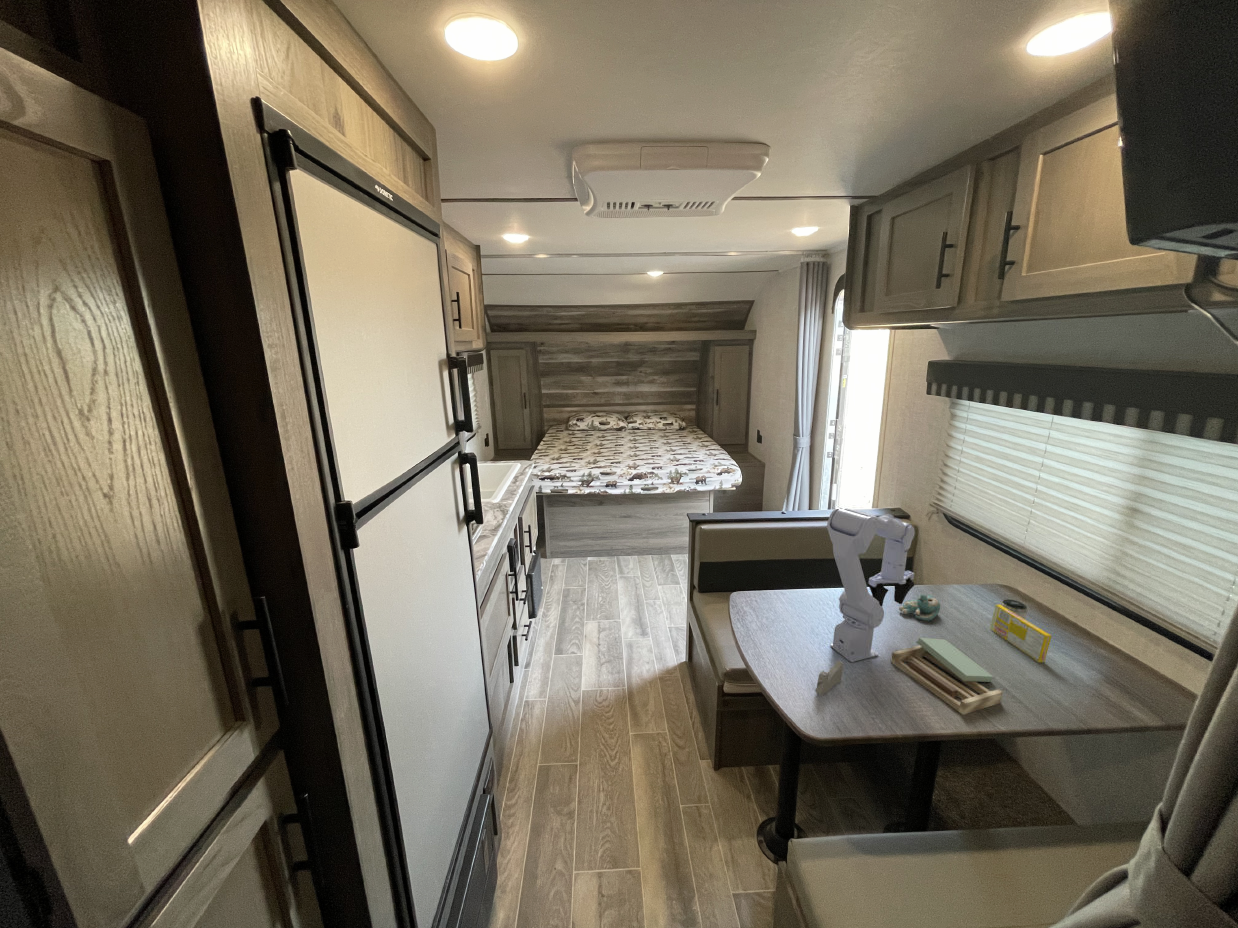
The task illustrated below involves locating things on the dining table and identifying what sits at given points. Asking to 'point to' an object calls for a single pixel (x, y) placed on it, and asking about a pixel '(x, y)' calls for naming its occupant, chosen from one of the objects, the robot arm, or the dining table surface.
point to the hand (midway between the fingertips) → (887, 604)
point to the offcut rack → (968, 697)
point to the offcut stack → (933, 679)
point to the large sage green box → (955, 660)
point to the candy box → (1020, 633)
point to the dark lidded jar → (1015, 607)
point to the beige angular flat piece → (829, 678)
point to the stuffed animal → (922, 607)
